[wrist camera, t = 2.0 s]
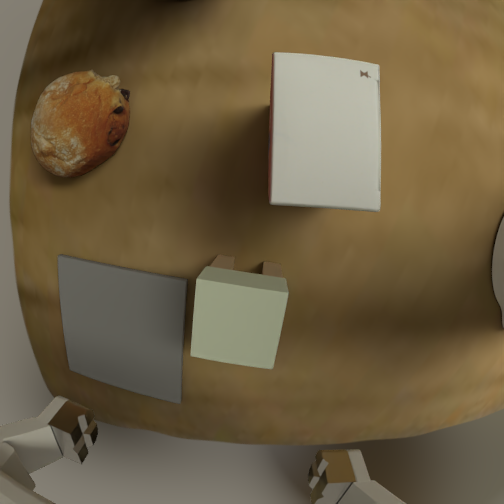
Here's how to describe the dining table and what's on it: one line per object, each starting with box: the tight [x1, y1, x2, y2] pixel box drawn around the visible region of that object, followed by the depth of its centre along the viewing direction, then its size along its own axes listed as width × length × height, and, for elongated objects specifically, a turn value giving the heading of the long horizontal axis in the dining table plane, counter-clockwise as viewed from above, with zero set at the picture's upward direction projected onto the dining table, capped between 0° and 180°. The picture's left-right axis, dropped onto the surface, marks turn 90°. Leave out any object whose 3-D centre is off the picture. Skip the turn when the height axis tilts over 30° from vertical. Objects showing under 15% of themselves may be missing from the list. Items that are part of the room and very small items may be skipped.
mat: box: [58, 254, 188, 404], centre depth 27 cm, size 14×14×1 cm
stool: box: [191, 254, 289, 369], centre depth 22 cm, size 6×6×8 cm
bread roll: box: [31, 70, 130, 177], centre depth 21 cm, size 10×10×8 cm
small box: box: [268, 52, 381, 212], centre depth 18 cm, size 8×6×10 cm
